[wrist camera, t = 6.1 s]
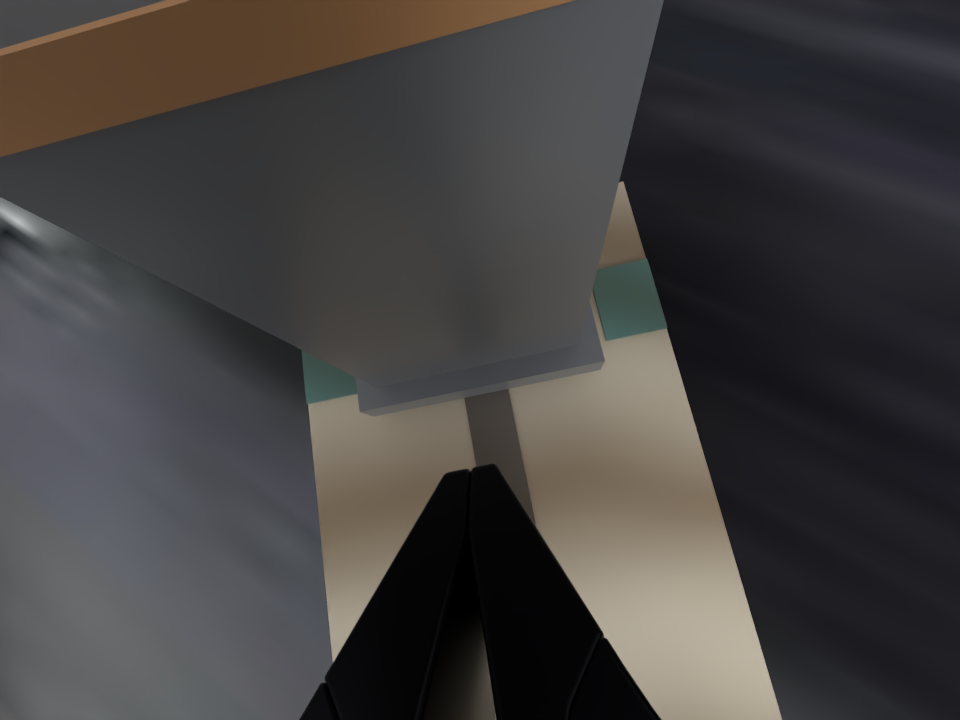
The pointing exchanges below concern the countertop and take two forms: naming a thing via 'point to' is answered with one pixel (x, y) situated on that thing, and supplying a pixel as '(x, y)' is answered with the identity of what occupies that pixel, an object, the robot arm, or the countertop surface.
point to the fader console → (566, 496)
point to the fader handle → (343, 168)
